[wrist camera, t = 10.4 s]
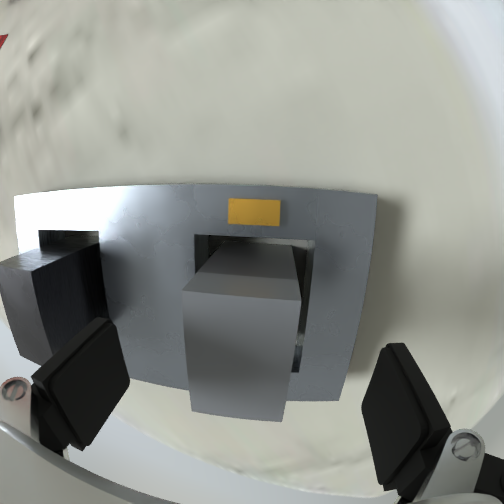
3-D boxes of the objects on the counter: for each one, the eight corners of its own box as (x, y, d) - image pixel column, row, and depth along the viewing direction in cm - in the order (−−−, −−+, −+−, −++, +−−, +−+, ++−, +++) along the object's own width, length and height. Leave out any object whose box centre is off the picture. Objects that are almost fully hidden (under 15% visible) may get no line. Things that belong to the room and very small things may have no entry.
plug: (291, 245, 16) (301, 300, 9) (282, 332, 18) (281, 421, 10) (225, 240, 17) (181, 290, 9) (223, 327, 18) (191, 411, 11)
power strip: (360, 192, 15) (426, 203, 8) (332, 373, 18) (350, 458, 11) (39, 192, 17) (-35, 206, 9) (61, 333, 20) (8, 377, 13)
